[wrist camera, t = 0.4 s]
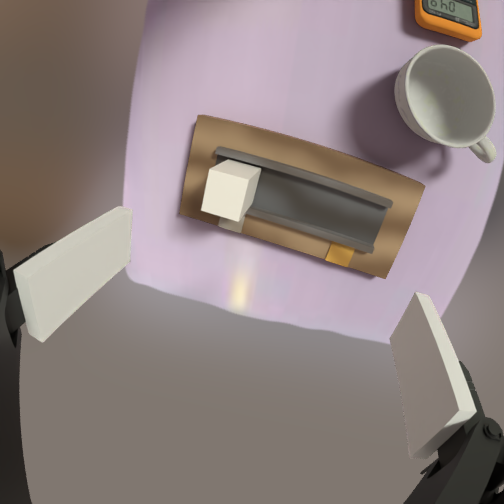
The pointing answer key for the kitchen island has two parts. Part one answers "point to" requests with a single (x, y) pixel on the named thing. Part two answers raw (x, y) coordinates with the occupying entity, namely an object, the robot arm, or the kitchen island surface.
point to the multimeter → (450, 17)
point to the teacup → (447, 99)
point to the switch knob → (230, 189)
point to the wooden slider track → (306, 195)
